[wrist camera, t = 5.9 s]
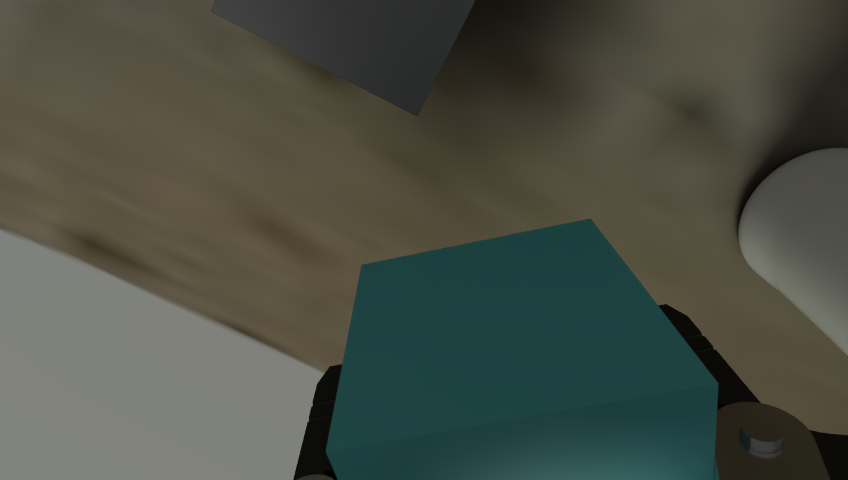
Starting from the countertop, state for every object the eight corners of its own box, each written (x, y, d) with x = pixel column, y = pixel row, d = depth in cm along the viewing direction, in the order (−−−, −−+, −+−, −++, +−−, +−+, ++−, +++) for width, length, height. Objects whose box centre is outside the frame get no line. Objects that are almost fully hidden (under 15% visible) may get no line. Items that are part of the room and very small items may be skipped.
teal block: (361, 264, 11) (325, 452, 7) (590, 218, 11) (718, 383, 6) (412, 427, 13) (411, 651, 9) (604, 394, 13) (706, 610, 8)
